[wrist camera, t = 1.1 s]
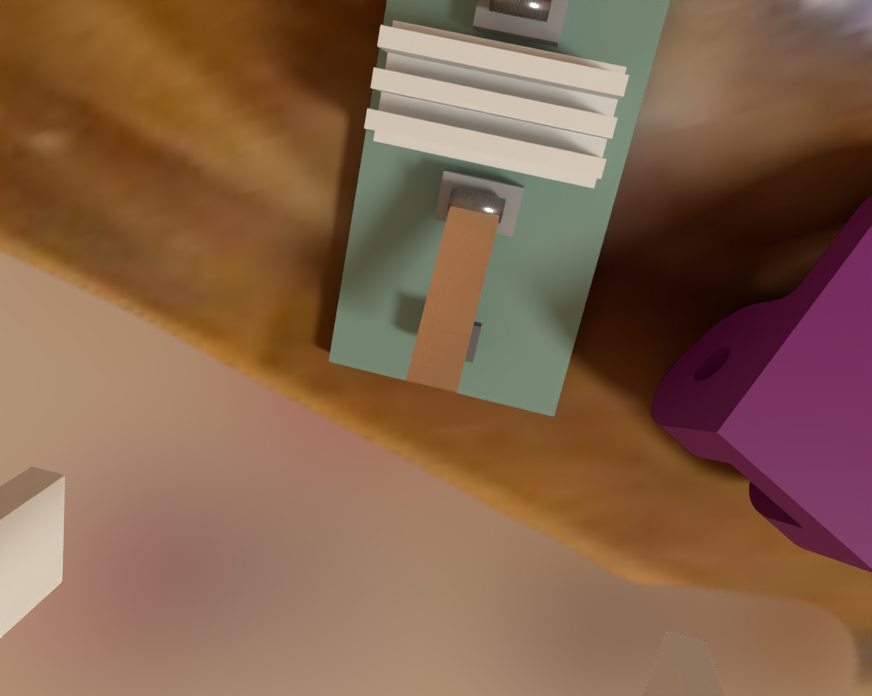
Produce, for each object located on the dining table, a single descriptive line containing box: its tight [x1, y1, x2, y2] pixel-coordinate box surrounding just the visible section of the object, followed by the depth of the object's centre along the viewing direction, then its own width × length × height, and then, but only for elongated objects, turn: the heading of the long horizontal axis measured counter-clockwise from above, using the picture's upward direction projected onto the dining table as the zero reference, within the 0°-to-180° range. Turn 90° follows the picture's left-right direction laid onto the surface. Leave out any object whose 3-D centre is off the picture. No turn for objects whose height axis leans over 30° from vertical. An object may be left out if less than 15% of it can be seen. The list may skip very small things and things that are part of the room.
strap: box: [406, 187, 506, 393], centre depth 32 cm, size 10×3×1 cm, turn 168°
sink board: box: [329, 0, 670, 417], centre depth 31 cm, size 30×13×8 cm, turn 169°
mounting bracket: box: [651, 194, 872, 572], centre depth 34 cm, size 9×8×18 cm
